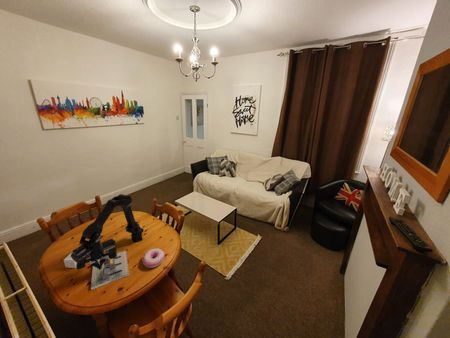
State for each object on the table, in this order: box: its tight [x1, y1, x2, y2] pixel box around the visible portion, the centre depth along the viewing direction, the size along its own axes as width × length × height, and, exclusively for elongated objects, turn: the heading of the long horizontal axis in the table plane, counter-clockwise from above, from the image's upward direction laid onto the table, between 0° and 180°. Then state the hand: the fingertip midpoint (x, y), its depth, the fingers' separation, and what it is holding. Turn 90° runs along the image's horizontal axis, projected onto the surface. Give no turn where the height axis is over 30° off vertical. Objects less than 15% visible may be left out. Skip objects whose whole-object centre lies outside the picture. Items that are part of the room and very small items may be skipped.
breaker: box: [102, 268, 109, 280], centre depth 102 cm, size 3×4×4 cm
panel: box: [90, 250, 130, 291], centre depth 108 cm, size 18×20×2 cm
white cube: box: [63, 252, 77, 269], centre depth 110 cm, size 6×6×6 cm
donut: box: [142, 248, 166, 269], centre depth 115 cm, size 14×13×5 cm
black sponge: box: [87, 238, 117, 258], centre depth 122 cm, size 16×8×4 cm, turn 137°
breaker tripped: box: [109, 259, 115, 269], centre depth 108 cm, size 3×4×4 cm
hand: (100, 268), depth 105 cm, fingers closed
